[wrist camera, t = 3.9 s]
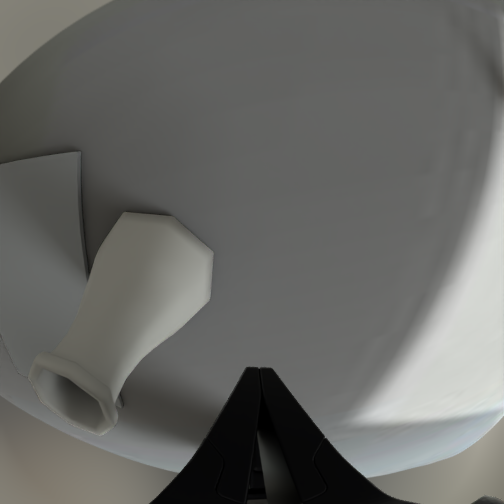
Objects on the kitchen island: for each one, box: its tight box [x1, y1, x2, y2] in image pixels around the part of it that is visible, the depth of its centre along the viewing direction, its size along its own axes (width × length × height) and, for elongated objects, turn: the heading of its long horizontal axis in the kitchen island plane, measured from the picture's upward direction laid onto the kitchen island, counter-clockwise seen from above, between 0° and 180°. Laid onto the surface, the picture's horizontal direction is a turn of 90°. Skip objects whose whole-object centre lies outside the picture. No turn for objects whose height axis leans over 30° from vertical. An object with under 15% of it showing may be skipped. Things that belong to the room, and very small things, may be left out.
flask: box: [28, 212, 214, 436], centre depth 11 cm, size 7×7×10 cm
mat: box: [0, 151, 123, 408], centre depth 16 cm, size 20×13×1 cm, turn 176°
